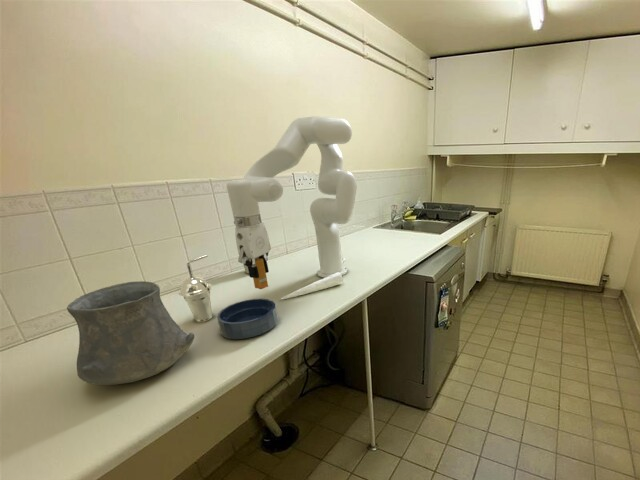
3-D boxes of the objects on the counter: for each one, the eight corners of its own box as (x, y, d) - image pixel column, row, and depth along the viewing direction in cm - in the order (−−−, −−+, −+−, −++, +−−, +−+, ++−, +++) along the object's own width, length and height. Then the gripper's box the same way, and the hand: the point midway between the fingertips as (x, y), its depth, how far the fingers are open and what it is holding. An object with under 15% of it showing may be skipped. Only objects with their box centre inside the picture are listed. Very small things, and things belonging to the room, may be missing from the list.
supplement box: (269, 286, 106) (263, 258, 103) (260, 289, 104) (254, 261, 100) (263, 284, 108) (257, 257, 104) (254, 287, 105) (248, 260, 101)
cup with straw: (194, 313, 101) (176, 255, 94) (224, 310, 103) (209, 252, 96) (183, 327, 93) (163, 264, 86) (216, 322, 95) (199, 261, 88)
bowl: (247, 311, 102) (244, 296, 100) (288, 316, 98) (286, 301, 96) (208, 337, 88) (203, 320, 86) (254, 344, 84) (250, 326, 82)
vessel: (184, 387, 69) (156, 307, 62) (60, 410, 63) (13, 325, 56) (212, 336, 88) (193, 270, 81) (119, 350, 83) (90, 281, 75)
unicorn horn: (277, 297, 112) (275, 284, 110) (339, 281, 125) (338, 270, 123) (281, 301, 108) (278, 289, 106) (344, 285, 121) (343, 273, 119)
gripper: (238, 227, 89) (251, 285, 96) (275, 215, 104) (284, 267, 111) (216, 226, 91) (231, 283, 97) (256, 215, 106) (266, 265, 113)
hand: (259, 274), depth 104 cm, fingers closed on supplement box, 4 cm apart
